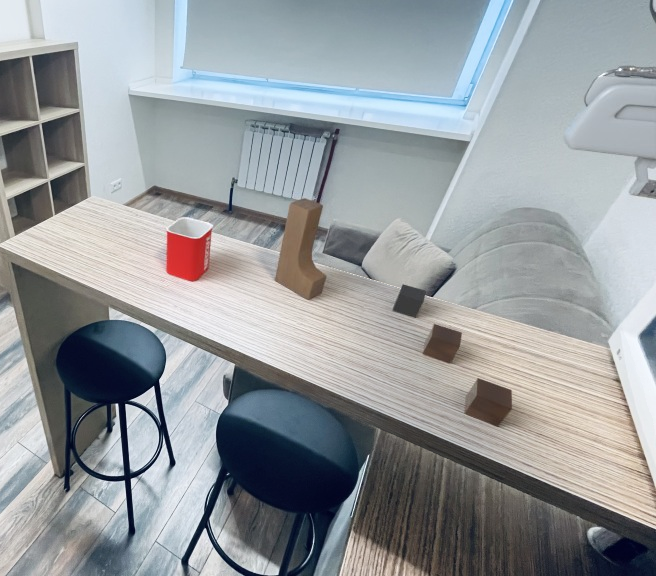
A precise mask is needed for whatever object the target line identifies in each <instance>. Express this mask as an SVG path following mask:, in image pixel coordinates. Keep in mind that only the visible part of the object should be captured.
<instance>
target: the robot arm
mask: <svg viewBox="0 0 656 576" xmlns="http://www.w3.org/2000/svg"><path fill="white" fill-rule="evenodd" d="M649 11H650V15H651V17H652V20H653V21H654V24H656V0H649ZM612 74H614V75H612ZM583 102H584V105H583V106H582V108H581V109H580V110H579V112H578V113H577V114H576V116H575V117H574V119H573V120H572V121H571V123H570V125H569V126H568V128H567V129H566V131H565V133H564V134H563V140H564V144H565V145H566V146H567V147H568V148H569V149H570V150H574V151H575V150H576V151H583V152H592V153H601V154H608V155H609V154H610V155H617V156H624V157H625V156H626V157H633V158H636V159H635V161H634V162H633V163H634V164H633V165H634V170H635V177H636V178H635V180H634V182H633V184H631V187H630V188H629V189H628V194H629V195H630V196H633V197H641V198H647V199H654V200H656V179H649V171H648V169H656V66H636V65H620V66H619V65H618V67H617V68H614V69H613V68H612V69H610V70H607V71H604V72H602V73H601V74H599V75H598V76H596V77H595V78H594V79H593V81H592V82H591V84H590V85H589V87H588V89H587V91H586V92H585V94H584V97H583Z"/></svg>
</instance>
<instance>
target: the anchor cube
mask: <svg viewBox="0 0 656 576" xmlns="http://www.w3.org/2000/svg"><path fill="white" fill-rule="evenodd" d="M426 294H427V290H425V289H421V288H418V287H414V286H409V285H407V284H401V287H400V289H399V292H398V294H397V296H396V299H395V301H394V305H393V308H392V312H395V313H399V314H401V315H405V316H408V317H411V318H414V319H415V318H417V316H418V314H419V312H420V310H421V308H422V306H423V304H424V302H425V298H426Z"/></svg>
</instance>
